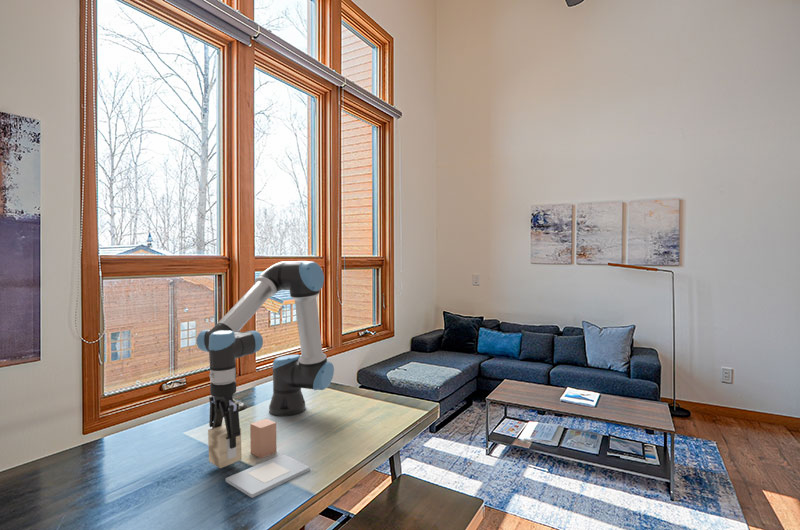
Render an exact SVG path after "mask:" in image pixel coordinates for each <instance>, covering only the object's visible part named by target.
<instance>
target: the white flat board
mask: <svg viewBox="0 0 800 530" xmlns="http://www.w3.org/2000/svg"><path fill="white" fill-rule="evenodd" d="M309 471H311V467H310V466H309V465H306V464H305V463H303V462H300V461H299V460H296V459H294V458H292V457H290V456H288V455H286V454H283V453H282V454H279V455H277V456H275V457H273V458H270V459H268V460H265V461H263V462H260V463H259V464H256V465H253V466H251V467H249V468H247V469H244V470H242V471H240V472H237V473H234V474H232V475H230V476H228V477H225V483H227V484H229V485H230V486H232V487H233V488H235V489H237V490H238V491H240V492H242V493H243V494H245V495H246V496H248V497H250V498H251V499H253V498H255V497H257V496H259V495H261V494H263V493H265V492H268V491H270V490H272V489H275V488H276V487H279V486H280V485H282V484H284V483H286V482H287V483H288V482H289V481H290V480H293V479H294V478H297V477H299V476H301V475H304V474H305V473H307V472H309Z"/></svg>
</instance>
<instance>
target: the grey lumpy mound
mask: <svg viewBox="0 0 800 530" xmlns="http://www.w3.org/2000/svg"><path fill="white" fill-rule="evenodd" d="M233 403H235V404H237V403H238V404H239V410H238V412H241V411H244V410H245V409H247V408H248V406H247V405H246V404H244V402H242V401H240V400H236V399H233ZM228 412H229V411H228ZM225 413H227V412H225Z"/></svg>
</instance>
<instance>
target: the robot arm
mask: <svg viewBox="0 0 800 530" xmlns="http://www.w3.org/2000/svg"><path fill="white" fill-rule="evenodd" d="M324 282H325V276H324V272H323V269H322V267H321V266H320V265H319V263H317V262H315V261H310V260H309V261H308V260H297V261H296V260H295V261H293V260H291V261H288V260H287V261H285V260H284V261H279V262H277V263H275V264H272V265H271V266H270V267H268V268H266V269H265V270H264V271H262V273H260V275H258V276H257V277H256V278H255V280H254V284H253V285H252V286H251V287H250V289H248V291H246V293H244V294H243V296H241V298H240V299H239V300H237V302H236V303H235V304H234V305H233V306H232V307H231V308H230V310H228V311H227V313H226V314H225V315H223V317H221V318H220V320H219V321H218V322H217V323H216V324H215V325H214V326H213V327H212V328H211V329H210V328H209V329H208V328H207V329H203V330H201V331H200V332H198V334H197V336H196V346H197V348H198V350H200V351H202V352H207V353H208V355H209V356H208V357H209V375H208V376H209V379H210V380H209V381H210V384H209V388H210V390H209V391H210V392H209V393H210V396H209V398H208V399H209V419H208V420H209V422H208V423H209V424H208V425H209V427H210V428H211V429H212V428H215V427H218V426H221V425H223V420H224V424H225V425H226V430H227V435H228V437H226V445H227V459H231V458H233V457H236V437H237V436H240V428H241V425H240V423H241V422H240V414H239V412H240V411H238V410H239V404H238V403H237V404H235V403H233V400H234V397H233V396H234V395H235V393H237V381H236V379H237V372H236V370H237V366H236V365H237V361H236V360H237V359H239V358H242V357H246V356H249V355H254V354H255V353H257V352H259V351H260V350H261V349H262V347H263V344H264V341H263V339H264V338H263V336H262V335H261V333H260V332H259V331H257V330H247V331H241V330H242V329H243V327H245V325H246V324H247V323H248V322H249V320H250V319H251V318H253V316H254V315H255V314H256V313H257V312H258V311H259V310H260V308H262V306H263V305H264V304H265V303H266V302H267V300H268V299H269V298H271V297H274V296H275V295H276V294H277V293H278V292H280V291H289V297H290V298H291V299H293V300H294V302H295V303H294V304H295V305H294V306H295V312H296V314H295V315H296V321H297V329H298V337H299V345H300V354H301V355H300V354H287V355H282V356H277V357H276V358H275V359H274V360H273V363H272V392H273V393H272V396H271V399H270V403H269V406H268V410H269V414H271V415H272V416H273V415H274V416H277V417H278V416H279V417H280V416H281V417H284V416H285V417H286V416H292V415H293V416H294V415H298V414H300V413H302V412H304V411H306V401H305V398H304V395H303V392H302V389H308V390H314V391H324V390H326V389H327V388H328V387H329V386H330V384H331V383H332V380H333V377H334V374H335V373H334V372H335V368H334V364H333V363H332V362H331V361H328V358H327V357H328V356H327V353H324V352H323V347H322V346H323V345H322V337H321V328H320V321H319V319H320V318H319V312H318V311H319V310H318V303H317V302H318V300H317V297H318V296H319V295H320V291H321V290H322V288H323V287H324ZM228 411H229V412H228ZM225 412H227V413H225Z"/></svg>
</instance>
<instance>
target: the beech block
mask: <svg viewBox="0 0 800 530" xmlns="http://www.w3.org/2000/svg"><path fill="white" fill-rule="evenodd" d="M207 436H208V437H207V441H208V442H207V443H208V462H210V463H211V464H212V465H214V466H215V467H217V468H219V469H223V468H225V467H228V466H230V465H233V464H235V463H237V462H239V461H241V460H242V429H241V427H240V436H237V437H236V457H233V458H231V459H227V445H226V437H228V435H227V430H226V425H225V423H224V424H222V425H221V426H218V427H215V428H212V427H211V428H210V429H208V430H207Z"/></svg>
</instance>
